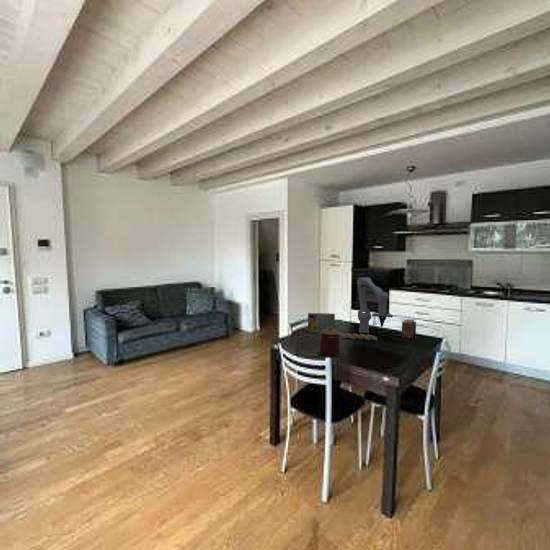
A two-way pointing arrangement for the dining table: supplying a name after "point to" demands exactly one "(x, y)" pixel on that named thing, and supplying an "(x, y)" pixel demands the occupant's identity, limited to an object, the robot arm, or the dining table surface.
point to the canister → (330, 342)
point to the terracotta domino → (357, 336)
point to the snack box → (320, 321)
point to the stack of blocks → (408, 328)
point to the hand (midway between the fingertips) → (381, 326)
